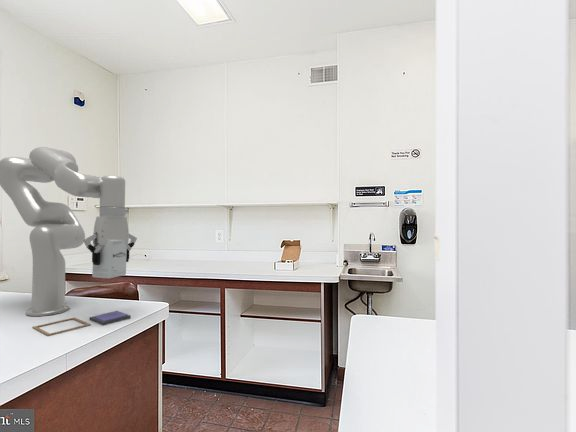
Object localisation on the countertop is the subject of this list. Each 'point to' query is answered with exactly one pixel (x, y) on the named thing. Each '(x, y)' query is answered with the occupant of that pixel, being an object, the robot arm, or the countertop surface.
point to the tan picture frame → (62, 330)
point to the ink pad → (110, 317)
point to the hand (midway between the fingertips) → (111, 263)
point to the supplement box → (111, 260)
